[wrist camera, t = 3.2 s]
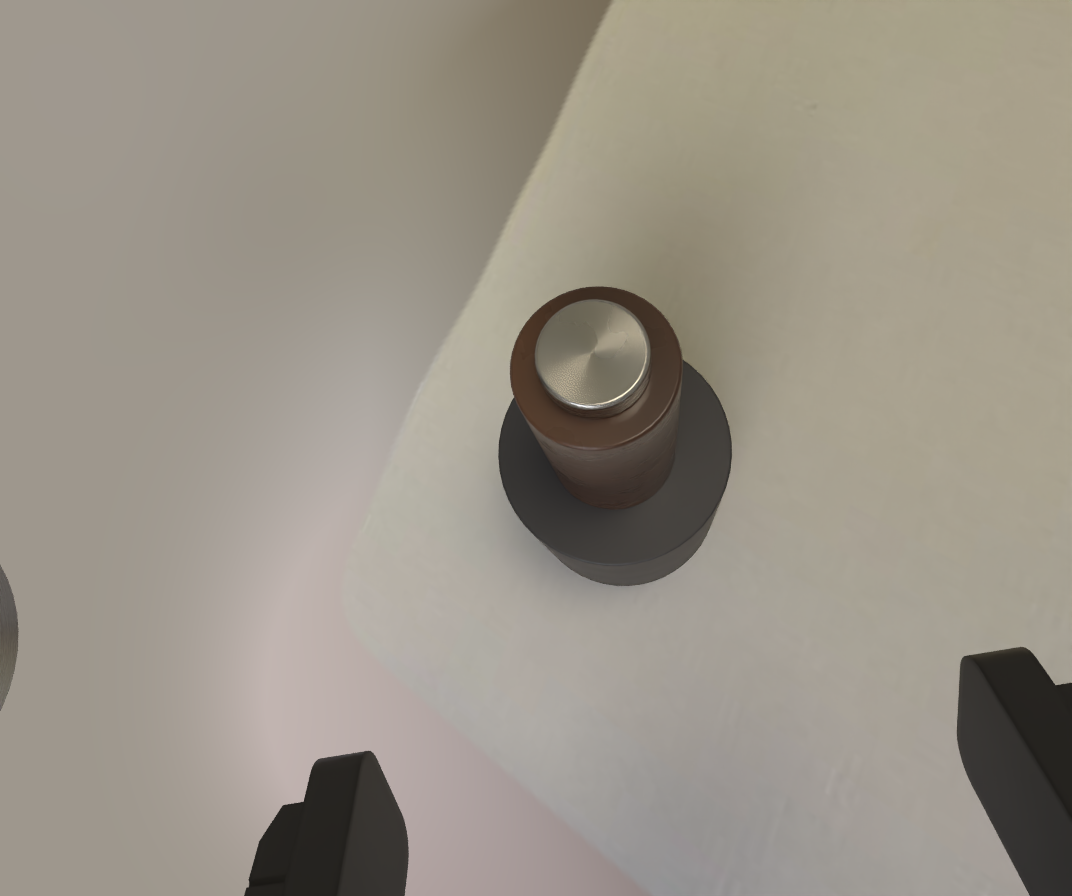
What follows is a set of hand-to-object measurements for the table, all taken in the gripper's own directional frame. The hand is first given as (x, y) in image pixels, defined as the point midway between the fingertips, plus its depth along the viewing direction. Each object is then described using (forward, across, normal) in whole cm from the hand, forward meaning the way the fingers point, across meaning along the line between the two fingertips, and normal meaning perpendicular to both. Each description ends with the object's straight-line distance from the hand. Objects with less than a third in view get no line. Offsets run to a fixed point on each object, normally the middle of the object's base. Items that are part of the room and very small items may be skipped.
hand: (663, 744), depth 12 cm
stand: (+17, 0, +8) cm, 19 cm away
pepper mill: (+12, 0, +3) cm, 13 cm away
